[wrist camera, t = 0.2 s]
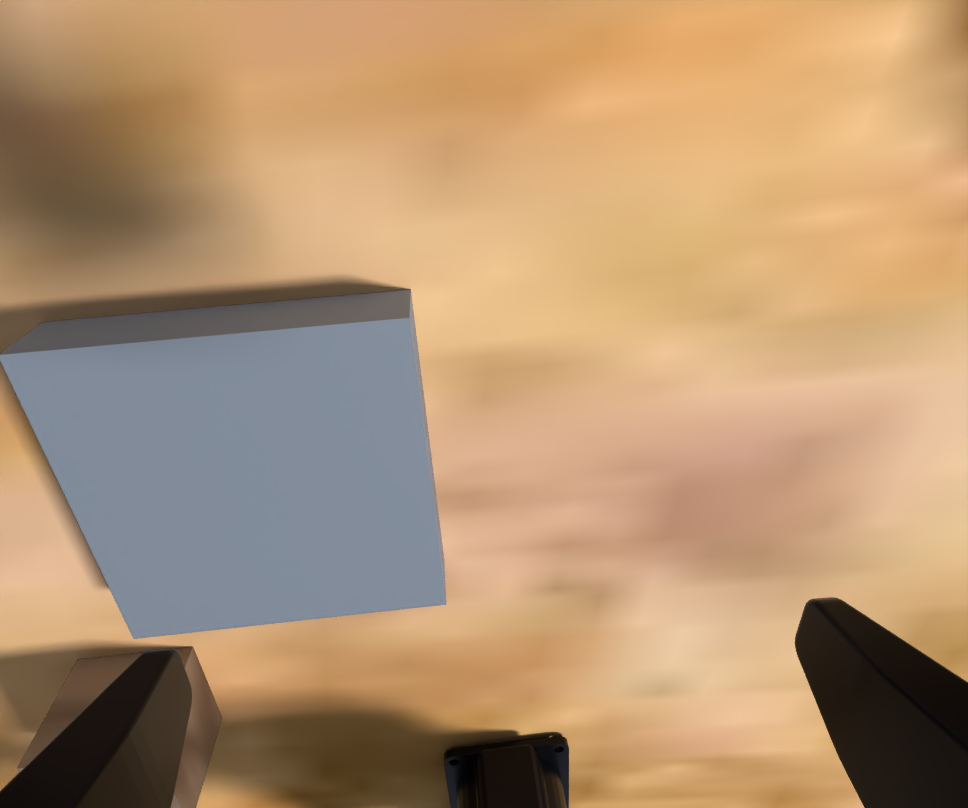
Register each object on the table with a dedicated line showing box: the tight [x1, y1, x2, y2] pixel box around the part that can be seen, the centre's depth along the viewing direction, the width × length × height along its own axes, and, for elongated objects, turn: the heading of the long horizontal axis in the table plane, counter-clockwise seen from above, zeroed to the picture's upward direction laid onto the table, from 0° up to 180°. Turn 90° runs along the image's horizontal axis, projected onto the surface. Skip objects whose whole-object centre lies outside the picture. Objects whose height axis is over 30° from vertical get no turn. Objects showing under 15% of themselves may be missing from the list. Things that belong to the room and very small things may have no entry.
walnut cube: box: [17, 647, 222, 808], centre depth 28 cm, size 5×5×5 cm
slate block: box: [0, 289, 446, 639], centre depth 23 cm, size 12×12×3 cm
